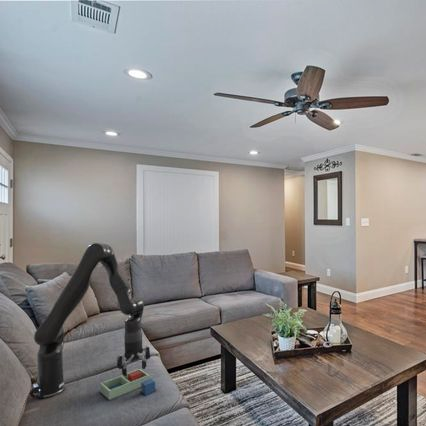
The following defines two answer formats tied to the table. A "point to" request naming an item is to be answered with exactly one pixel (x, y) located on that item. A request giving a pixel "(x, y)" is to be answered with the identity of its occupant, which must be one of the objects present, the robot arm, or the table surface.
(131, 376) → the red block
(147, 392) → the blue block
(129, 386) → the sorting tray
